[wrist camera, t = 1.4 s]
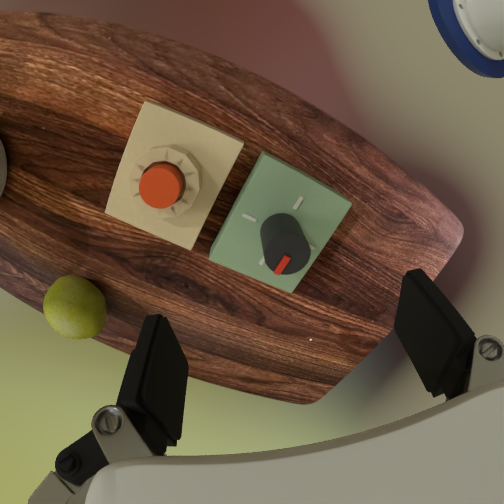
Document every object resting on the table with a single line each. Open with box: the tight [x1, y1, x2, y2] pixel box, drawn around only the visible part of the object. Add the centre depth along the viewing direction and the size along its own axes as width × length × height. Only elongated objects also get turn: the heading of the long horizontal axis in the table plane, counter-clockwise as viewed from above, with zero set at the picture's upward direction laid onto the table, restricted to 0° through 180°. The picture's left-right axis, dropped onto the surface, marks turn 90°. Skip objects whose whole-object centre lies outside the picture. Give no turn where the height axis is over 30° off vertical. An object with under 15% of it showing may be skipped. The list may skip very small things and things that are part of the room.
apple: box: [43, 275, 107, 339], centre depth 30 cm, size 8×9×8 cm
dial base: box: [209, 151, 352, 293], centre depth 29 cm, size 12×10×3 cm
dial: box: [260, 213, 311, 275], centre depth 26 cm, size 4×4×5 cm
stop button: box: [139, 164, 183, 209], centre depth 23 cm, size 4×4×2 cm
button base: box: [105, 101, 244, 250], centre depth 26 cm, size 12×10×4 cm
